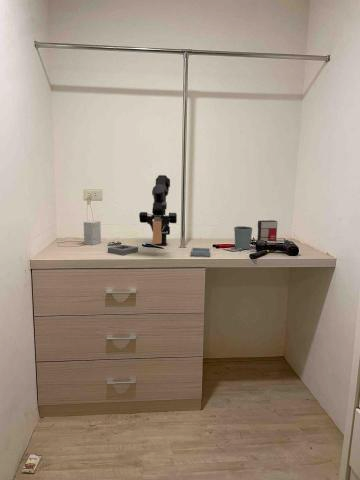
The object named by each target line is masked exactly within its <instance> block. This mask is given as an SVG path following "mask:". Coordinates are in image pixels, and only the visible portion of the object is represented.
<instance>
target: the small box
mask: <svg viewBox="0 0 360 480" xmlns="http://www.w3.org/2000/svg"><path fill="white" fill-rule="evenodd" d="M101 226H102V224H101V221H100V220H87V221H83V242H84V243H83V244H84V245H87V246H88V245H89V246H94V245H99V244H101V243H102V236H101V235H102V234H101V233H102V232H101V231H102V230H101Z"/></svg>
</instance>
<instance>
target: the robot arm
mask: <svg viewBox="0 0 360 480" xmlns="http://www.w3.org/2000/svg"><path fill="white" fill-rule="evenodd" d="M170 188H171V179H170V178H169V177H168V176H167V175H166V174H165V175H164V174H159V175H157V177H156V178H155V185H154V186H153V187H152V191H151V195H152V197H153V203H152V209H151V210H152V211H151V212H152V213H148V212H147V211H140V212H139V214H138V217H139V222H140V223H141V224H142V223H143V224H147V225H149V226H150V229H151V232H152V233H153V221H154V217H155V216H161V220H162V227H161V232H162V242H161V244H155V246H167V245H168V242H167V236H169V235H170V234H171V227H170V224H177V221H178V219H177V218H178V216H177V215H178V214H177V213H176V212H168V215H166V211H167V205H168V204H167V197H168V195H169V192H170Z"/></svg>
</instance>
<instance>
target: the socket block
mask: <svg viewBox="0 0 360 480" xmlns="http://www.w3.org/2000/svg"><path fill="white" fill-rule="evenodd" d="M107 253H109V254H112V255H113V254H114V255H118V256H128V255H130V254H136V253H139V247H138V246H133V245H128V244H117V245H115V246H114V245H113V246H108V247H107Z"/></svg>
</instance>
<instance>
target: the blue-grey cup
mask: <svg viewBox="0 0 360 480" xmlns="http://www.w3.org/2000/svg"><path fill="white" fill-rule="evenodd" d="M233 231H234V248H235V247H236V248H242V249H248V250H250V249H251V243H252V234H253V227H251V226H243V225H240V226H239V225H238V226H235V227H234V228H233ZM236 248H235V249H236Z"/></svg>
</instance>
